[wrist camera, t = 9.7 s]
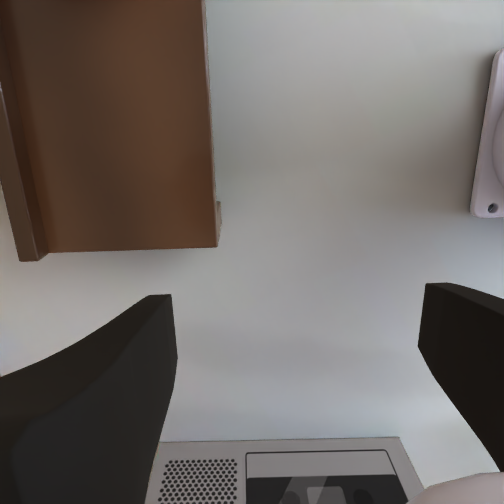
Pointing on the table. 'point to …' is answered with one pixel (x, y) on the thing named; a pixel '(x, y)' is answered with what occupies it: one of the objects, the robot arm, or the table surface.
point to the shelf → (106, 126)
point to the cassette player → (284, 472)
